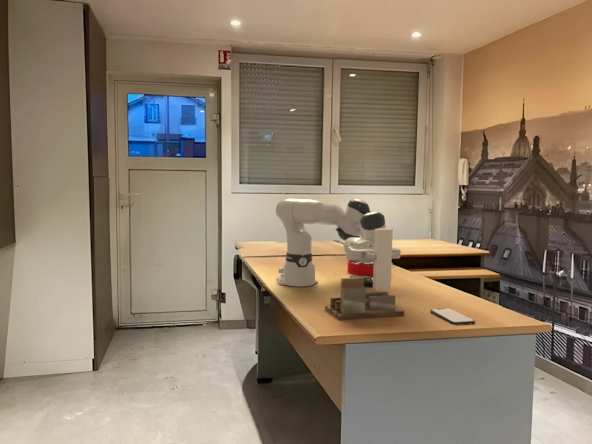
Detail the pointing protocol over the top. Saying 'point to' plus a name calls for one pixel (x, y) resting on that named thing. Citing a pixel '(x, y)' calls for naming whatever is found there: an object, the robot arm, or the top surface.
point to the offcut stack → (352, 295)
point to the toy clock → (360, 268)
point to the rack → (368, 307)
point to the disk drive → (365, 280)
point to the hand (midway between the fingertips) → (383, 256)
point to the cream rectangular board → (382, 259)
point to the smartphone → (451, 316)
